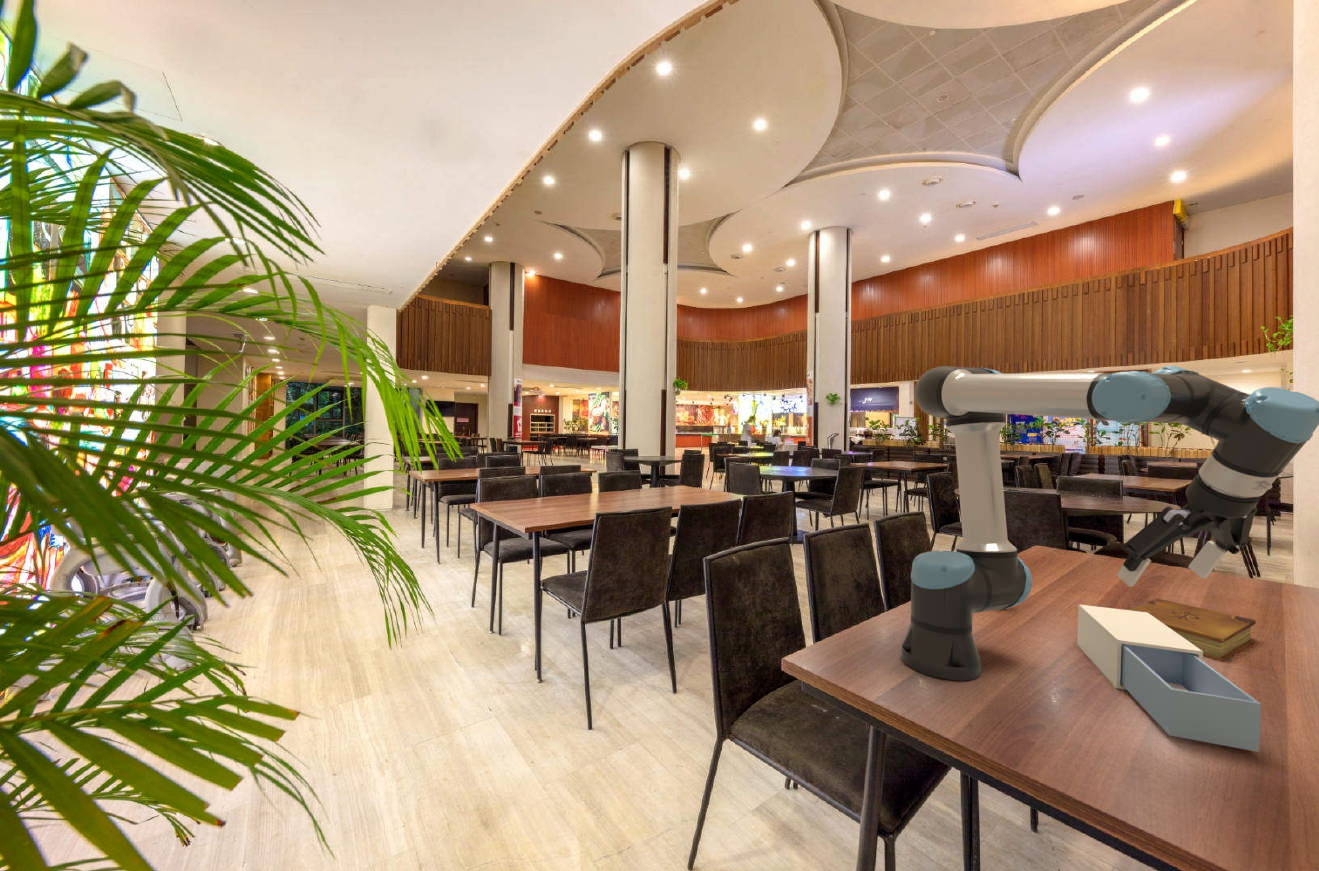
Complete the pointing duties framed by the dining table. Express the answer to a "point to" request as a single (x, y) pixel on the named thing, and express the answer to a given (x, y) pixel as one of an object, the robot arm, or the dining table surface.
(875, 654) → the dining table surface
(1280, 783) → the dining table surface
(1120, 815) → the dining table surface
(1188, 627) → the diary
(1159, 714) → the tray
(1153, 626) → the mailer sleeve
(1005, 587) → the robot arm
